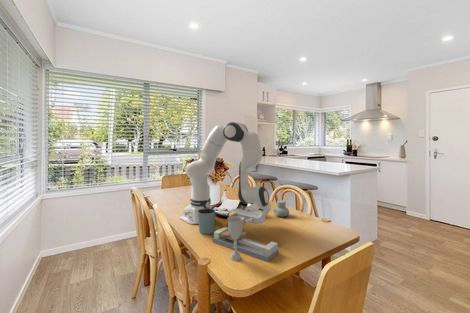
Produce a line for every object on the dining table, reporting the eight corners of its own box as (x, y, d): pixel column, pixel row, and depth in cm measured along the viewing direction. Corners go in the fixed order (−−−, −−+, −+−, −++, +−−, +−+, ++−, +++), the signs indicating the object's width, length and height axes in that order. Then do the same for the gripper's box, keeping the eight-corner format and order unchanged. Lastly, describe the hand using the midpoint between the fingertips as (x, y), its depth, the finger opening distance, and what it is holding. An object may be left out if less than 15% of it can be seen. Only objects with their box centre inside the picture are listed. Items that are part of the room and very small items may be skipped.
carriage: (220, 236, 119) (220, 213, 118) (230, 231, 125) (230, 210, 124) (236, 241, 113) (236, 218, 112) (246, 236, 119) (246, 213, 118)
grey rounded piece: (271, 213, 165) (272, 199, 164) (282, 212, 167) (282, 198, 167) (279, 219, 155) (279, 204, 154) (290, 217, 157) (290, 203, 156)
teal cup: (212, 235, 128) (212, 214, 127) (194, 234, 130) (194, 212, 129) (217, 228, 138) (217, 208, 137) (201, 227, 140) (200, 207, 139)
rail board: (212, 241, 121) (212, 232, 120) (225, 235, 129) (225, 226, 128) (267, 261, 102) (267, 250, 101) (278, 252, 110) (278, 242, 109)
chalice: (243, 253, 109) (243, 215, 107) (244, 261, 102) (244, 221, 100) (227, 254, 108) (227, 215, 107) (227, 262, 102) (227, 221, 100)
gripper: (237, 204, 138) (221, 210, 127) (268, 211, 126) (254, 218, 115) (237, 215, 138) (222, 221, 128) (268, 222, 126) (254, 230, 115)
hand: (237, 220), depth 121 cm, fingers open, 8 cm apart
